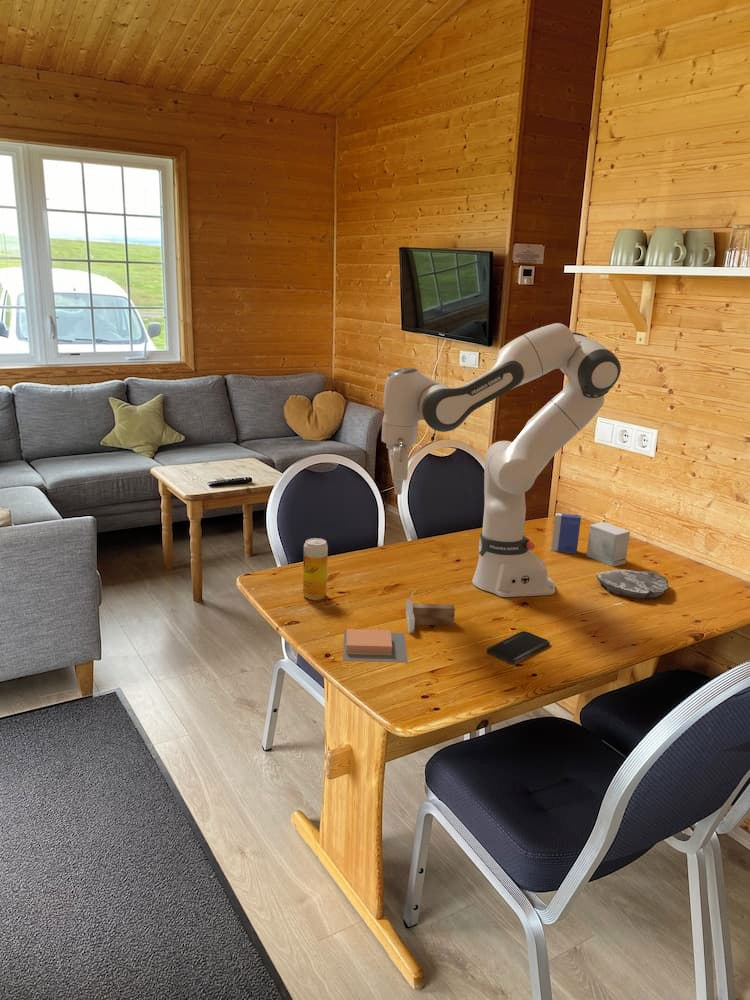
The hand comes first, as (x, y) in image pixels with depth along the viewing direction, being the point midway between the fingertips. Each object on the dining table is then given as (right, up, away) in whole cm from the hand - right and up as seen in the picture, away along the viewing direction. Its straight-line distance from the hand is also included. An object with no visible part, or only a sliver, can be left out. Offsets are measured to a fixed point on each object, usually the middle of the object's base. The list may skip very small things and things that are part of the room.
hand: (396, 488), depth 193 cm
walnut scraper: (+8, -33, -8) cm, 35 cm away
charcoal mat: (-6, -36, -21) cm, 42 cm away
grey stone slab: (+67, -28, +19) cm, 75 cm away
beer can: (-21, -28, +6) cm, 36 cm away
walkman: (+54, -19, +47) cm, 74 cm away
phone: (+27, -37, -18) cm, 49 cm away
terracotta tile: (-2, -35, -21) cm, 41 cm away
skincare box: (+65, -21, +41) cm, 80 cm away
